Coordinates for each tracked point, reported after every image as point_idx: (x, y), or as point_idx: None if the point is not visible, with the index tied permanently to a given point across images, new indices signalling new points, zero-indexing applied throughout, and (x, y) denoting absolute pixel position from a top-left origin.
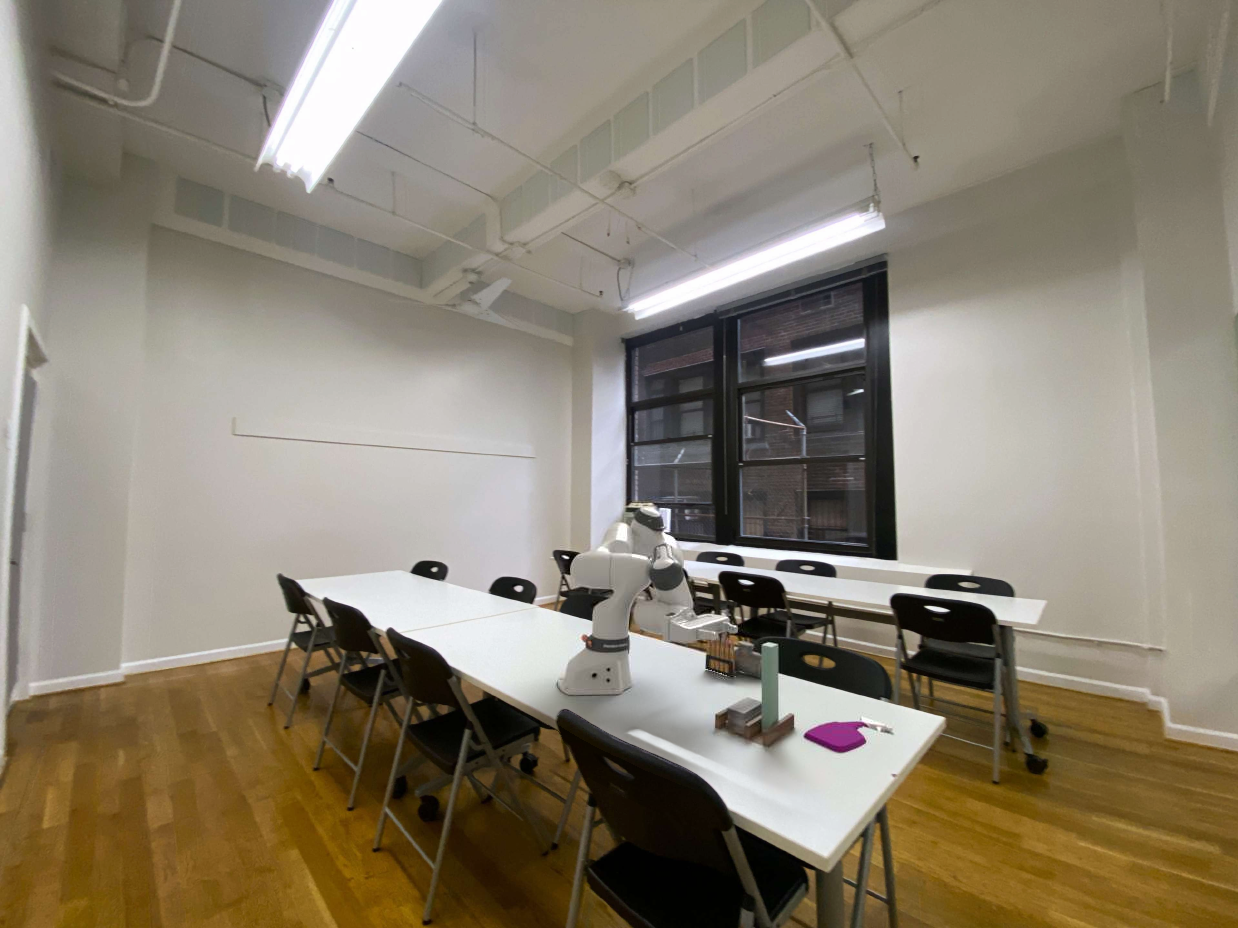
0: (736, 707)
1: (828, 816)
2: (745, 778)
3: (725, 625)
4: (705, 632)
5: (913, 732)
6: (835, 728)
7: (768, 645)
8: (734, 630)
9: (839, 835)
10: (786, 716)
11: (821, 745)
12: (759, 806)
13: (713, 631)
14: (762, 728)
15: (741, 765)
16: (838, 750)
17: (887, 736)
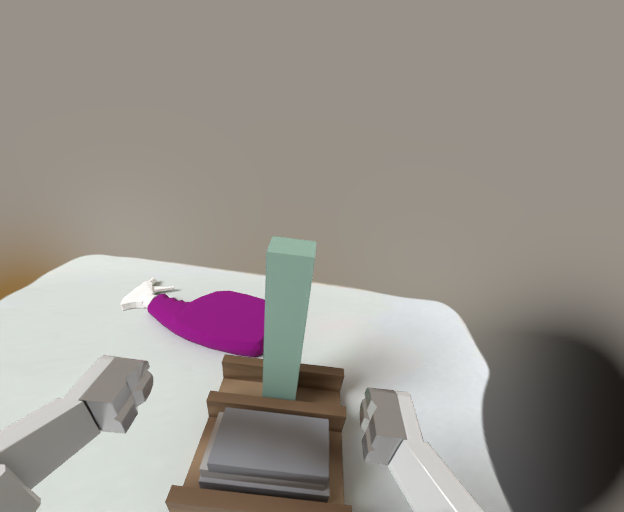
0: (306, 454)
1: (403, 308)
2: (429, 392)
3: (16, 477)
4: (446, 474)
5: (145, 268)
6: (211, 316)
7: (305, 247)
8: (143, 376)
9: (418, 300)
10: (245, 362)
11: None
12: (458, 357)
13: (378, 420)
14: None
15: None
16: None
17: (172, 285)
